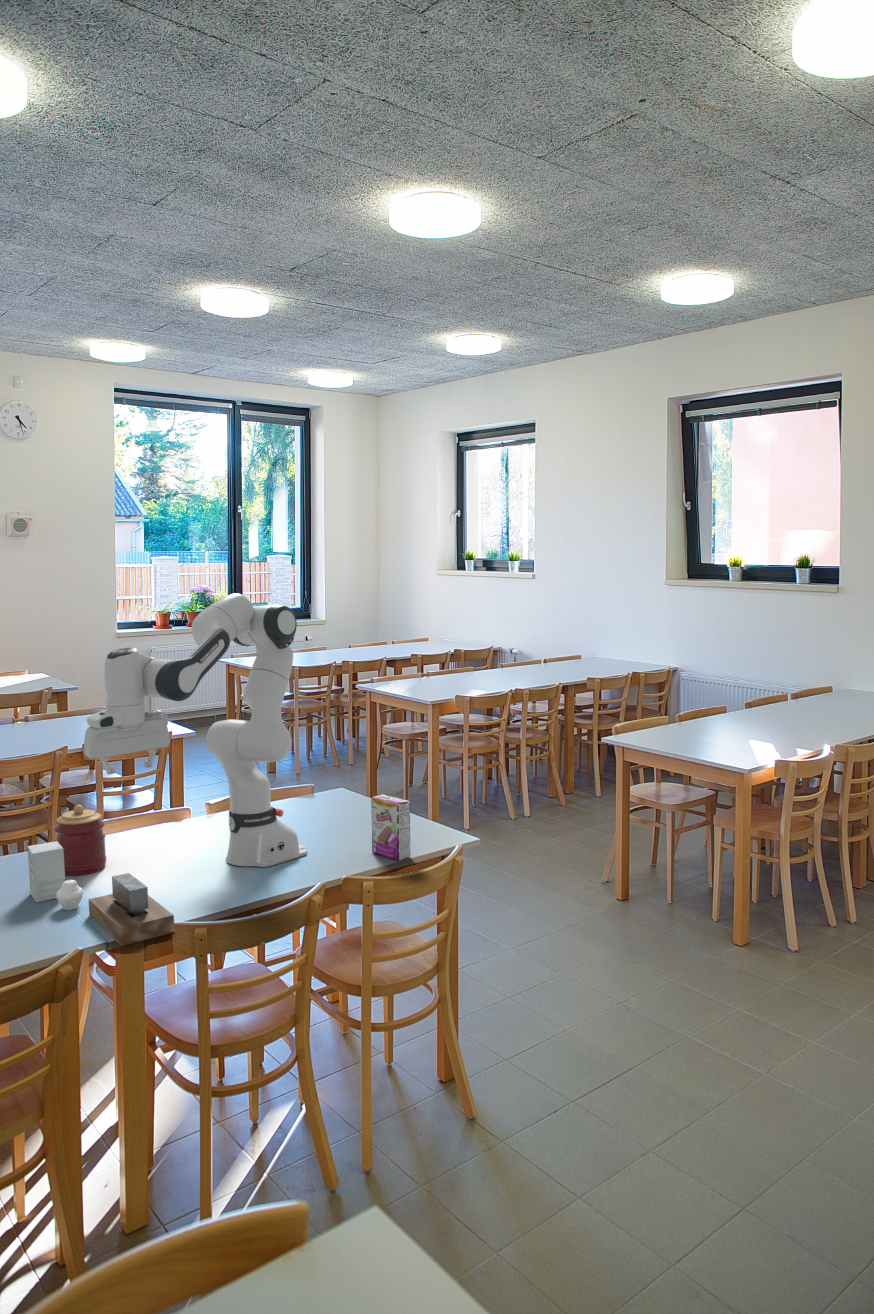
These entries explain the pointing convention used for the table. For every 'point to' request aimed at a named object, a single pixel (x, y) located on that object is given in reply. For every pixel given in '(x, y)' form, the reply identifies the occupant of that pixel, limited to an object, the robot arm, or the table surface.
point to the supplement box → (45, 870)
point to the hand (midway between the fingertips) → (129, 770)
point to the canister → (81, 841)
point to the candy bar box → (390, 827)
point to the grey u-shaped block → (130, 893)
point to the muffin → (69, 895)
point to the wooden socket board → (130, 920)
